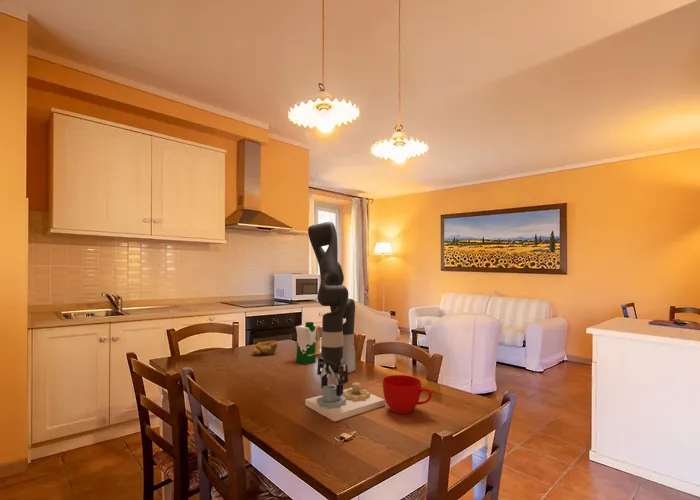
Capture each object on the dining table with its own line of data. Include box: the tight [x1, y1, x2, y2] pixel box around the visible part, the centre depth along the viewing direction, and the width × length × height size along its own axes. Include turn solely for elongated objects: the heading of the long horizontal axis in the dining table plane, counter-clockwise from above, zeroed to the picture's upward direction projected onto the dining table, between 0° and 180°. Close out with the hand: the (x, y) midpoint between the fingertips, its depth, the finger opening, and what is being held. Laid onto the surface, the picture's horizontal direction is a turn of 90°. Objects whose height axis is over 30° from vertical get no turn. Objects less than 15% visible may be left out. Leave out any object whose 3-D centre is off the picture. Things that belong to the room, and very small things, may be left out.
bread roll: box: [252, 339, 278, 357], centre depth 203 cm, size 13×10×8 cm
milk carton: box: [295, 321, 317, 365], centre depth 187 cm, size 9×9×20 cm
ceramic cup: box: [382, 374, 433, 415], centre depth 125 cm, size 13×17×10 cm
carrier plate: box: [304, 381, 386, 422], centre depth 130 cm, size 22×17×7 cm
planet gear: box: [317, 383, 346, 409], centre depth 126 cm, size 10×10×6 cm
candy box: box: [314, 324, 321, 355], centre depth 205 cm, size 9×4×15 cm, turn 110°
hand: (331, 392), depth 127 cm, fingers open, 8 cm apart
